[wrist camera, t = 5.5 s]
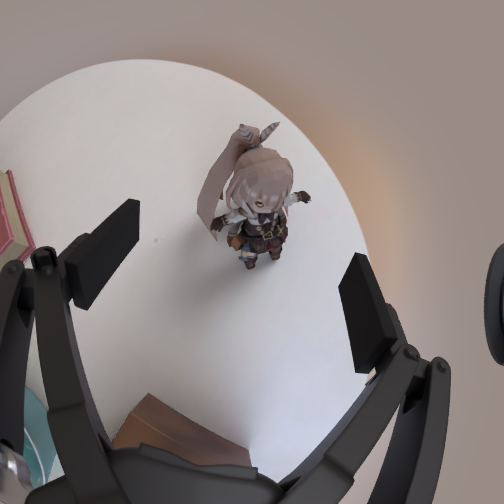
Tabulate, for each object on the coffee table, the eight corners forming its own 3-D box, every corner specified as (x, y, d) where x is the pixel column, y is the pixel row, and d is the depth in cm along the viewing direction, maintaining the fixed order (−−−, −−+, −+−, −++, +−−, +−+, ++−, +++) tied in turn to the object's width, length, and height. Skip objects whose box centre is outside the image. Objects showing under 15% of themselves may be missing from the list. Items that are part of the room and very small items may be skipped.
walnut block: (248, 450, 24) (254, 479, 18) (194, 509, 21) (190, 539, 15) (148, 392, 24) (130, 412, 18) (105, 459, 22) (85, 483, 16)
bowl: (55, 485, 19) (28, 511, 11) (-17, 403, 20) (-51, 413, 12) (97, 433, 22) (63, 463, 14) (12, 335, 23) (-32, 337, 15)
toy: (224, 293, 26) (191, 185, 13) (199, 222, 30) (165, 104, 17) (311, 260, 27) (351, 143, 14) (276, 197, 31) (285, 77, 18)
